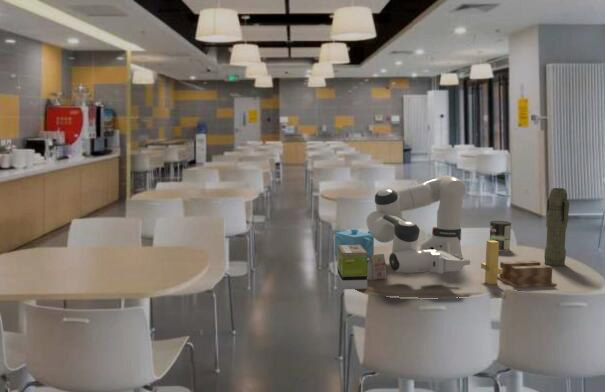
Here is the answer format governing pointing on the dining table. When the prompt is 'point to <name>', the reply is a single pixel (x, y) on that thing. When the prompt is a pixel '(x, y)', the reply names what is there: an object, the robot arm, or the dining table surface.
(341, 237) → the teakettle
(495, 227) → the coffee can
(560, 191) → the thermos
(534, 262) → the rack
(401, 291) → the dining table surface
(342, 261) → the tea box
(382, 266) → the pink milk carton
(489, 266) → the yellow tall bar
